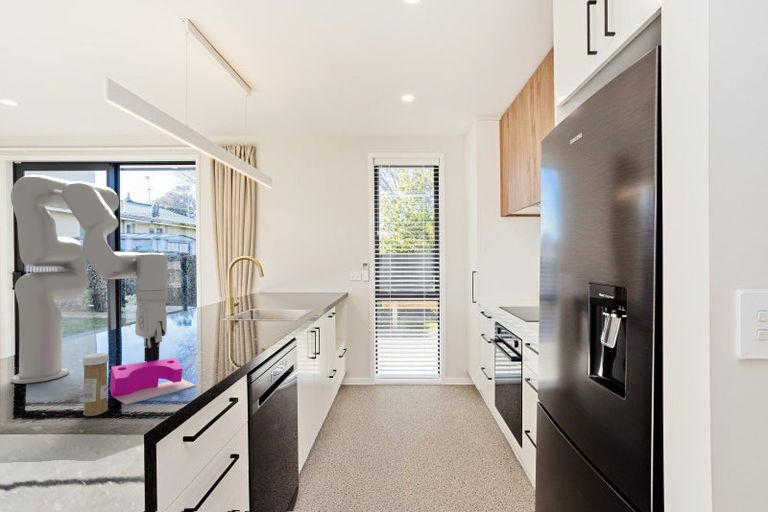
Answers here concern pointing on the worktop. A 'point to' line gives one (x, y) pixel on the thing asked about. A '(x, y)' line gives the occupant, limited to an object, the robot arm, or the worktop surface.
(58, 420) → the worktop surface
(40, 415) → the worktop surface
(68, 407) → the worktop surface
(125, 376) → the toy block
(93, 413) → the sprinkles bottle
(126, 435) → the worktop surface
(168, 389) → the mat
